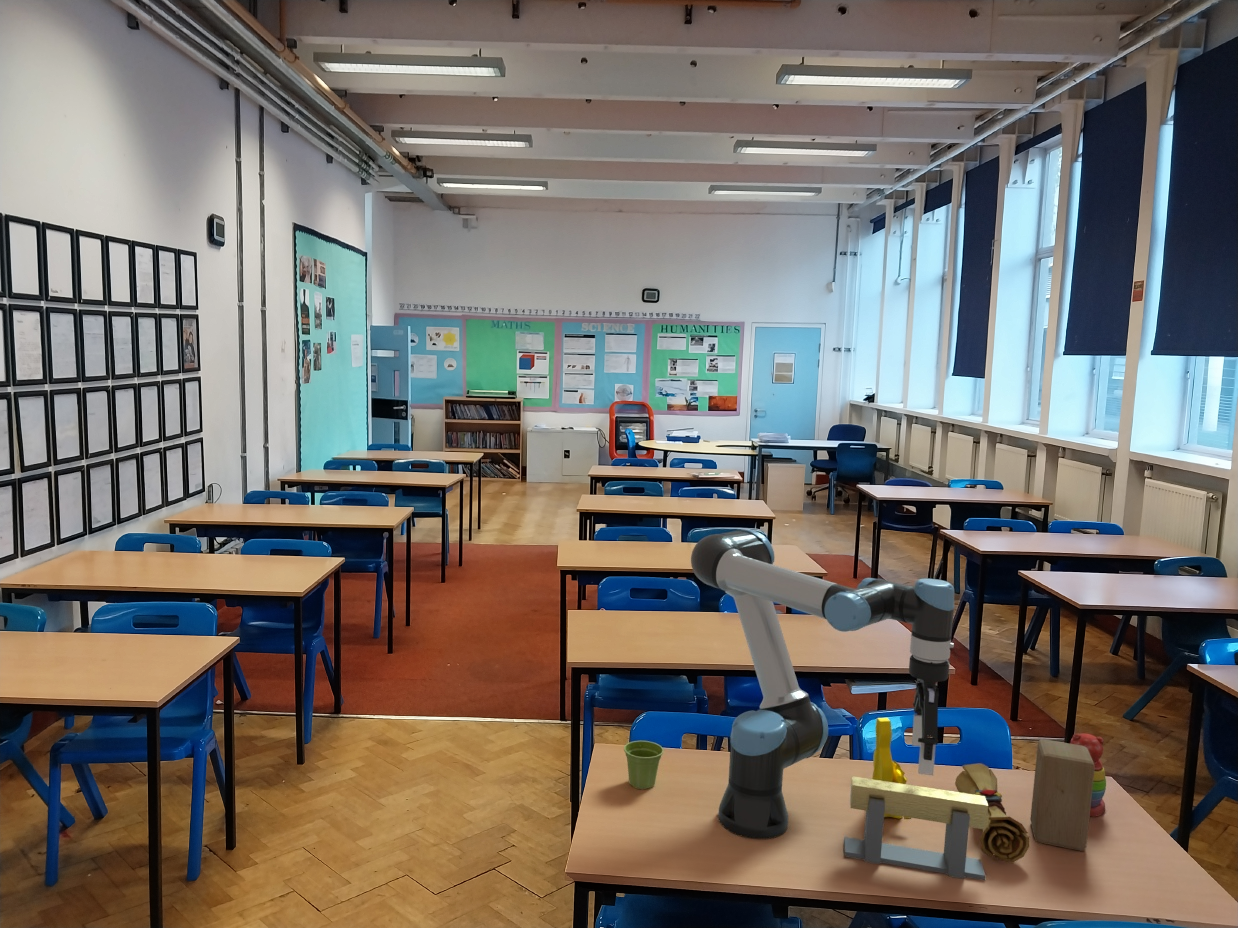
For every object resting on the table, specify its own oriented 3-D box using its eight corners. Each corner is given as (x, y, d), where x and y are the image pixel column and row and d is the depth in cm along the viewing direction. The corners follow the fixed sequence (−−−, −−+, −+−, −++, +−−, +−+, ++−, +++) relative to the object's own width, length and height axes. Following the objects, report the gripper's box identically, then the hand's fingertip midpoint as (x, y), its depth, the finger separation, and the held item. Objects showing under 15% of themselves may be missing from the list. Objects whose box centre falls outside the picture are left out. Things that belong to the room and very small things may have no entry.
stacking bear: (1102, 801, 203) (1110, 730, 202) (1109, 821, 194) (1118, 747, 192) (1052, 792, 207) (1059, 722, 205) (1057, 811, 198) (1064, 737, 196)
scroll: (1028, 868, 174) (1033, 821, 173) (979, 861, 175) (983, 815, 174) (994, 803, 200) (998, 763, 199) (952, 798, 202) (955, 758, 201)
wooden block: (1034, 843, 183) (1043, 754, 181) (1029, 821, 193) (1037, 736, 191) (1086, 853, 180) (1096, 763, 178) (1078, 830, 189) (1087, 744, 187)
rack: (844, 857, 174) (849, 797, 173) (844, 839, 181) (848, 781, 180) (985, 882, 168) (991, 819, 167) (979, 861, 175) (985, 801, 174)
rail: (850, 807, 175) (852, 784, 174) (850, 798, 179) (851, 776, 178) (985, 829, 169) (988, 805, 168) (982, 819, 172) (984, 795, 172)
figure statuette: (917, 833, 185) (925, 736, 183) (882, 832, 185) (889, 735, 183) (889, 793, 203) (896, 704, 201) (857, 792, 203) (863, 703, 200)
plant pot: (624, 772, 208) (626, 738, 207) (663, 776, 206) (665, 742, 205) (619, 790, 198) (621, 755, 197) (659, 795, 197) (661, 759, 196)
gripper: (958, 680, 157) (950, 789, 159) (941, 641, 181) (934, 737, 183) (916, 675, 159) (907, 783, 161) (904, 637, 183) (897, 732, 185)
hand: (922, 759), depth 172 cm, fingers open, 13 cm apart
